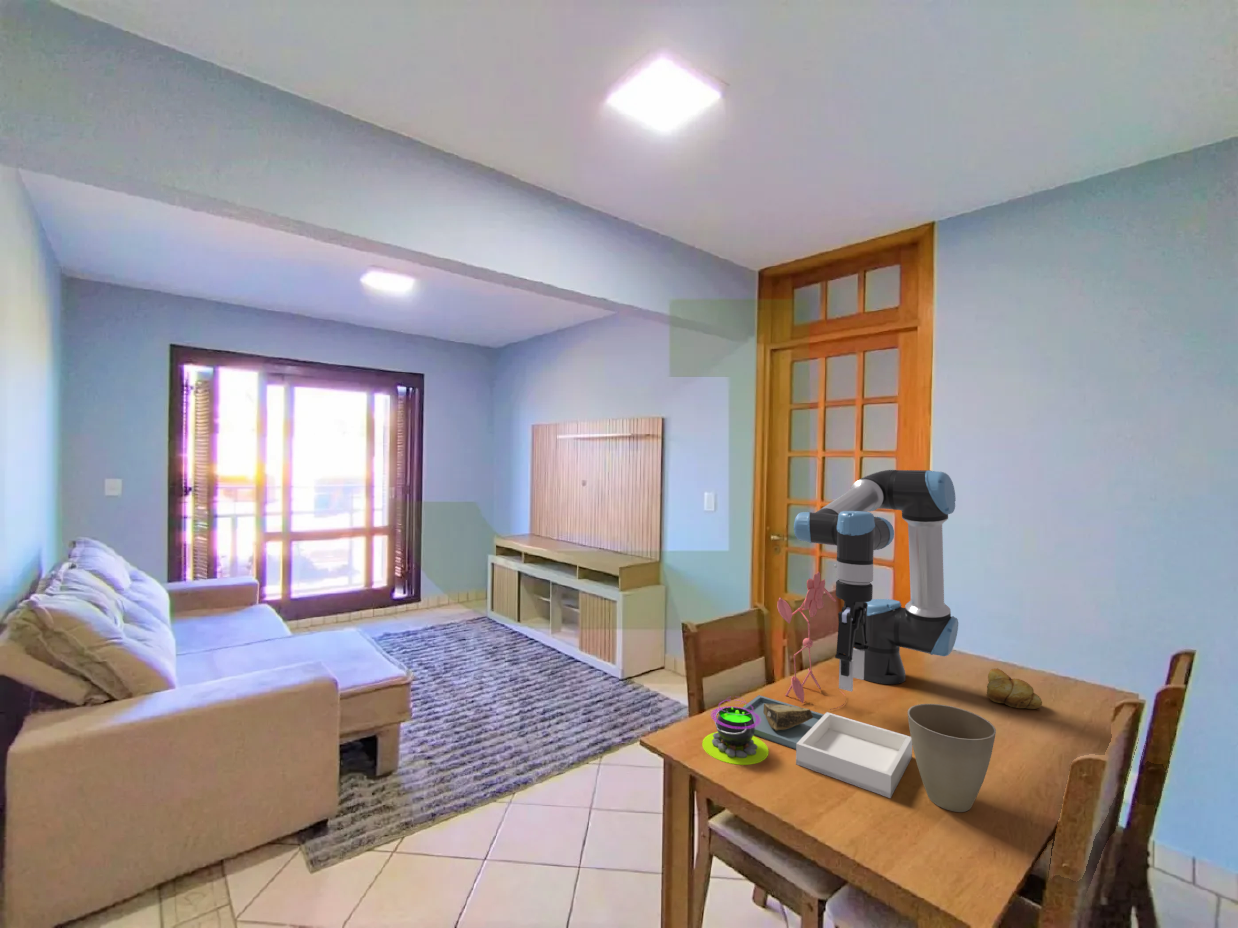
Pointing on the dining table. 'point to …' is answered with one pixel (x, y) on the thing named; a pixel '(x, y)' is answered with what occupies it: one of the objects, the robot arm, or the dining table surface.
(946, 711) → the plant pot
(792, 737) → the tray
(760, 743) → the toy cauldron
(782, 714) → the rock
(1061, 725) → the dining table surface
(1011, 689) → the bread roll
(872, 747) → the dish
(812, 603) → the flower sculpture
